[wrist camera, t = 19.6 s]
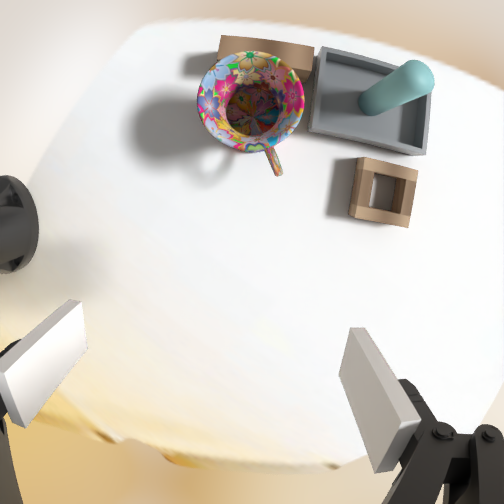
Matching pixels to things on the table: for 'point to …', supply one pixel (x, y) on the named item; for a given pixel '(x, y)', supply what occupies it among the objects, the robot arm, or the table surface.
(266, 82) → the mug
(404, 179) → the socket
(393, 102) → the dowel
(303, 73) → the block
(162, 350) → the table surface
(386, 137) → the tray
